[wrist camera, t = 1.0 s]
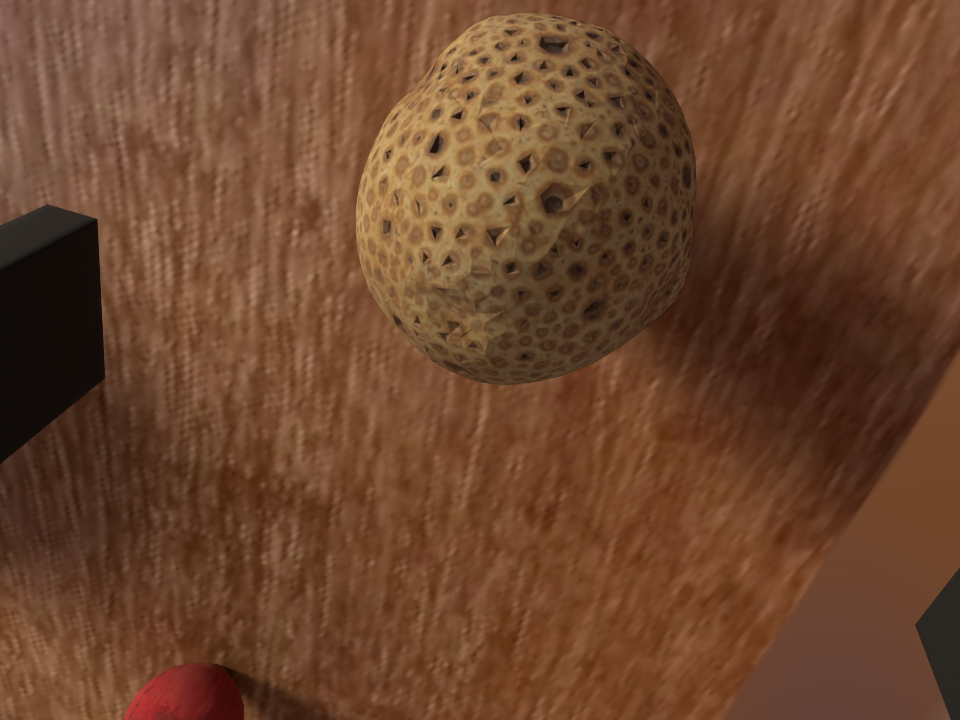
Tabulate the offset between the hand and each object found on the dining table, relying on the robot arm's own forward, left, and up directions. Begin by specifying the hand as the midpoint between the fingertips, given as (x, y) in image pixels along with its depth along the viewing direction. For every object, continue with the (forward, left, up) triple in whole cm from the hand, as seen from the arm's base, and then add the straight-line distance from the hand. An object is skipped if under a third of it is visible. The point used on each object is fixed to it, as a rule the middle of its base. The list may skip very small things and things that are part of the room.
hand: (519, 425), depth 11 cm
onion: (+32, -11, -16) cm, 38 cm away
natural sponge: (0, -1, -16) cm, 16 cm away
